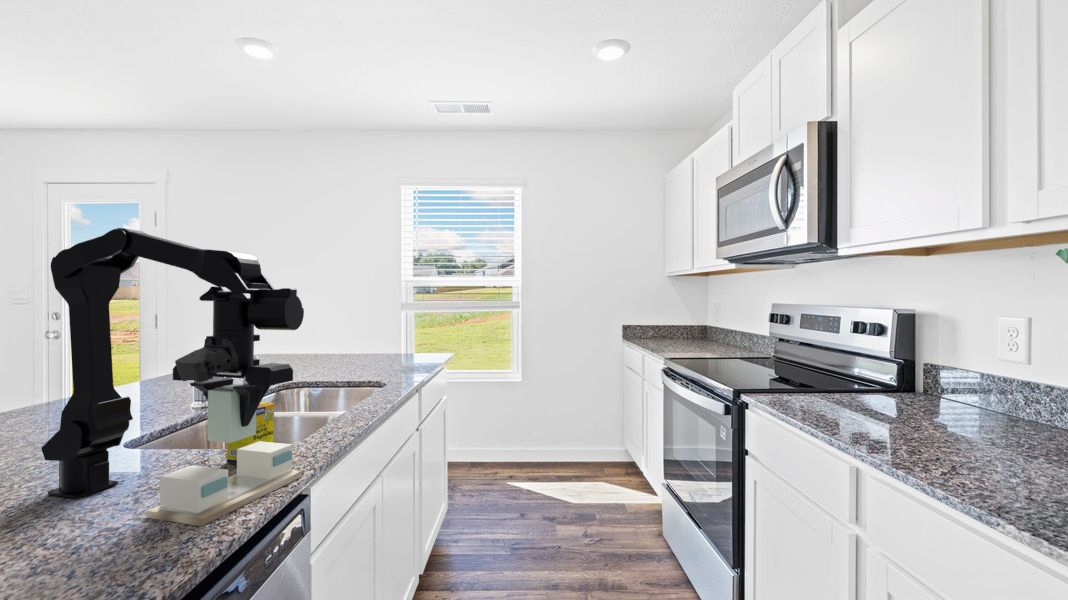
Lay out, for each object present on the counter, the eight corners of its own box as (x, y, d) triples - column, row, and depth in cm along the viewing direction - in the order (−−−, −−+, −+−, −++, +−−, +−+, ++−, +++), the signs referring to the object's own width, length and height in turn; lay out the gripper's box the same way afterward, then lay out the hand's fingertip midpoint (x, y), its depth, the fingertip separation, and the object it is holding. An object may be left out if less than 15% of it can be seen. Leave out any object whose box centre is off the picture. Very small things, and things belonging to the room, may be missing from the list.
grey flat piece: (158, 510, 72) (158, 507, 72) (260, 467, 90) (260, 465, 90) (196, 516, 70) (196, 513, 70) (292, 471, 88) (292, 468, 88)
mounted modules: (160, 507, 72) (160, 476, 72) (259, 465, 90) (259, 441, 90) (200, 513, 70) (200, 481, 70) (293, 469, 88) (294, 444, 88)
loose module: (207, 440, 78) (208, 388, 78) (233, 432, 83) (234, 383, 83) (230, 442, 77) (231, 390, 77) (255, 434, 82) (256, 384, 82)
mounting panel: (146, 517, 72) (146, 510, 72) (255, 471, 91) (255, 465, 91) (201, 526, 69) (201, 519, 69) (301, 476, 88) (301, 471, 88)
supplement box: (252, 466, 94) (253, 408, 94) (225, 463, 95) (226, 407, 95) (274, 456, 100) (275, 402, 100) (249, 454, 101) (249, 400, 101)
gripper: (138, 330, 74) (137, 433, 74) (240, 334, 70) (238, 444, 70) (204, 326, 85) (203, 416, 85) (296, 329, 81) (294, 424, 81)
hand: (232, 425), depth 80 cm, fingers closed on loose module, 4 cm apart
